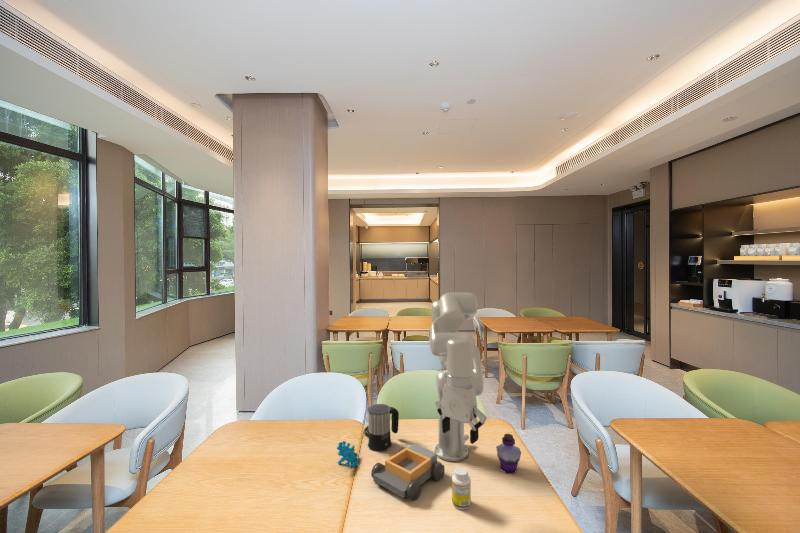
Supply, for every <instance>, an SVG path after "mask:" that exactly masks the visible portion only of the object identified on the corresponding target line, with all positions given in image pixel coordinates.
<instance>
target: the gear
mask: <svg viewBox="0 0 800 533" xmlns="http://www.w3.org/2000/svg"><path fill="white" fill-rule="evenodd" d="M337 445H338V446H336V447H337V448H336V449H337V450H338V452H337V454H338V456H341V458H340V459H339V461H337V464H338V465H340V464H342V463H344V462H345V461H346V462H345V465H346V466H347V467H349V466H350V467H351V468H352V469H354V468H355V467H357V466H359V463H358V462H360V459H359V458H358V456H359V455H358V452H355V450H356V449H355V448H356V447H355V445H354V444H352V446H351V444H350V442H348V443H347V442H346V441H345V440H343V441H340V442H338V444H337Z"/></svg>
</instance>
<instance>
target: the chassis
mask: <svg viewBox="0 0 800 533" xmlns="http://www.w3.org/2000/svg"><path fill="white" fill-rule="evenodd" d="M445 471H446V470H445V465H444V464H443V463H442V462H440V461H438V456H437V453H435V451H434V450H433V451H432V450H431V449H427V448H425V447H423V446H421V445H419V444H416V443H413V444H412V445H410V446H408V447H404V446H403V447H401V448H400V449H399V451H398V452H397V453H395V454H394V455H392V456H390V457H389V458H387V459H386V460H385V461H384V464H383V463H381V462H377V463H375V464H374V465H373V466H372V468H371V478H372V479H373V480H372V481H373V482H374V483H376V484H378V485H380V486H382V487H384V488H385V489H387V490H389V491H391V492H392V493H394V494H396V495H397V496H399V497H401V498H403V499H404V498H407V499H409V500H411V501H412V502H415V501H417V500H418V498H419V497H420V495H421V491H422V486H421V485H422V484H423V483H425V482H426V481H428V480H429V479H430V478H432V479H433V480H435V481H438V482H441V480H442V478H443V477H444V476H445Z"/></svg>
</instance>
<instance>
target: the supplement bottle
mask: <svg viewBox="0 0 800 533" xmlns="http://www.w3.org/2000/svg"><path fill="white" fill-rule="evenodd" d="M471 483H472V482H471V477H470V476H469V471H468V469H466V468H465V467H463V466H461V467H460V466H459V467H456V468H455V469H454V474H453V475H452V477H451V500H452V501H451V502H452V504H453V506H454V507H455V508H456V509H458V510H467V509H469V508H470V507H471V503H472V502H471V501H472V497H471V496H472V494H471V492H472V491H471V490H472V489H471V488H472V487H471V486H472V484H471Z"/></svg>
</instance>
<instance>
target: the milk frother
mask: <svg viewBox="0 0 800 533" xmlns="http://www.w3.org/2000/svg"><path fill="white" fill-rule="evenodd" d="M366 410H367V412H368V414H367V415H368V416H367V418H368V420H367V423H368V425H367V426H366V427H365V428H364V430H363V433H364V435H365V436H366V437H368V444H367V446H368V449H370V450H372V451H375V452H383V451H386V450H389V449H390V448H391V446H392V442H391V439H392V438H391V432H392V433H394V434H397V433H398V432H399V417H400V416H399V415H400V414H399V411H398V409H396V408H395V407H392V406H390V405H387V404H384V403H377V404H372V405H369V406H368V407H367V409H366Z"/></svg>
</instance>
